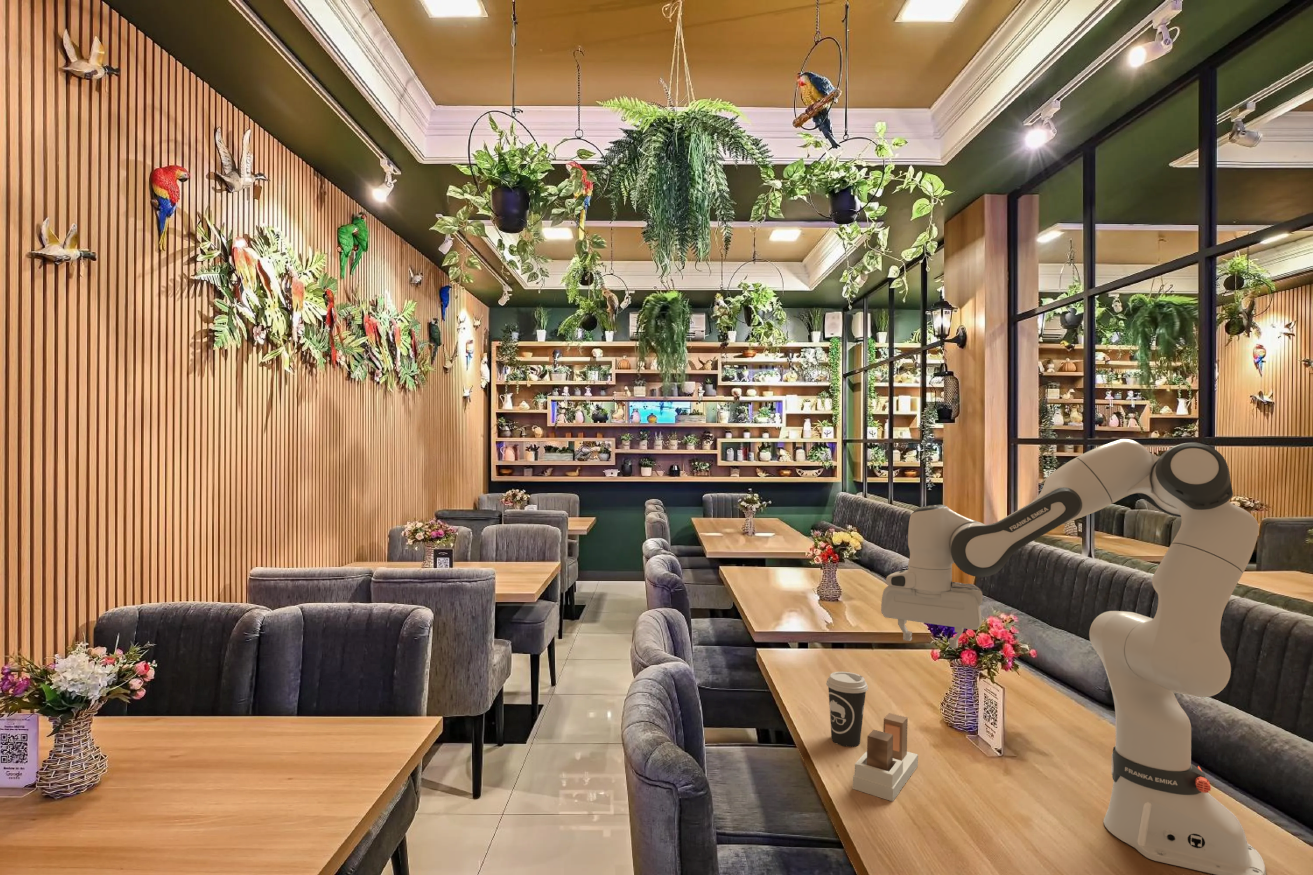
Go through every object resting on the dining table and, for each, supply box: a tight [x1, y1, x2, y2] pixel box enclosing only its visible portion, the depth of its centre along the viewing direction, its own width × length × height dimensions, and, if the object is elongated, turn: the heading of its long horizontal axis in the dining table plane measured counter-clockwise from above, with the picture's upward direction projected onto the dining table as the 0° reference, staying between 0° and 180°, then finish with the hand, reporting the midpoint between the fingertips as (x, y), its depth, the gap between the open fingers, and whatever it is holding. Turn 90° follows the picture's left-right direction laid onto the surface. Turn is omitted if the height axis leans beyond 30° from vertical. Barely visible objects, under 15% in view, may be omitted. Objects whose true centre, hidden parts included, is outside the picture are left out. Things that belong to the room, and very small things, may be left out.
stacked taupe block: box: [866, 729, 893, 771], centre depth 137 cm, size 4×5×8 cm
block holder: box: [852, 712, 919, 802], centre depth 141 cm, size 8×19×10 cm, turn 145°
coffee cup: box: [825, 671, 869, 748], centre depth 158 cm, size 10×10×15 cm
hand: (930, 643), depth 145 cm, fingers open, 8 cm apart
